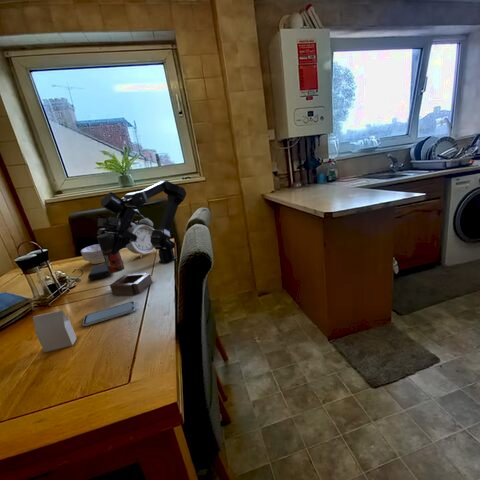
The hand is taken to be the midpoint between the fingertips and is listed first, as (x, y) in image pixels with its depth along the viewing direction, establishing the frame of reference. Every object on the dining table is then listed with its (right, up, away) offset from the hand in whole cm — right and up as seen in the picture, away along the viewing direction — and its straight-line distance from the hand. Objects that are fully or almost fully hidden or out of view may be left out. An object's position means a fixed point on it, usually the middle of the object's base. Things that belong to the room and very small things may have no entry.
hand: (107, 253), depth 111 cm
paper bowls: (-25, -3, +39) cm, 46 cm away
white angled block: (+6, -26, -34) cm, 43 cm away
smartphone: (+12, -20, -20) cm, 31 cm away
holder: (+11, -14, -2) cm, 17 cm away
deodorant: (+2, -7, +4) cm, 8 cm away
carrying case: (-12, -9, +19) cm, 24 cm away
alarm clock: (-2, +1, +41) cm, 41 cm away
